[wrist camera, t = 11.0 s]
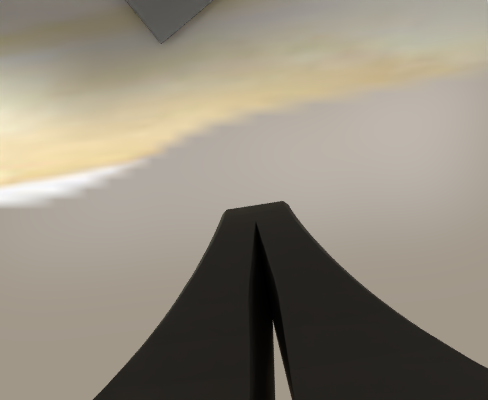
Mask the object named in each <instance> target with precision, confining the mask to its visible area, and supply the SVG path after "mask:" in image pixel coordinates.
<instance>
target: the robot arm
mask: <svg viewBox="0 0 488 400" xmlns="http://www.w3.org/2000/svg"><path fill="white" fill-rule="evenodd" d="M273 323H274V327H275V331H276V336H277V340H278V344H279V348H280V352H281V356H282V360H283V364H284V368H285V372H286V377H287V381H288V385H289V389H290V393H291V397H292V400H488V368H486V367H484V366H482V365H480V364H478V363H476V362H475V361H473V360H471V359H469V358H468V357H466V356H465V355H463V354H461V353H460V352H458V351H456V350H455V349H453V348H451V347H450V346H448V345H447V344H445V343H443V342H442V341H440V340H438V339H437V338H435V337H434V336H432V335H430V334H429V333H427V332H425V331H424V330H422V329H420V328H419V327H418V326H416V325H415V324H413V323H412V322H410V321H409V320H407V319H406V318H405V317H403V316H402V315H400V314H399V313H397V312H396V311H395V310H393V309H392V308H391V307H389V306H388V305H387V304H385V303H384V302H383V301H381V300H380V299H379V298H377V297H376V296H375V295H374V294H372V293H371V292H370V291H369V290H367V289H366V288H365V287H364V286H363V285H362V284H360V283H359V282H358V281H357V280H356V279H354V277H352V276H351V275H350V274H349V273H348V272H347V271H346V270H344V268H342V267H341V266H340V265H339V264H338V263H337V262H336V261H335V260H334V259H333V258H332V257H331V256H330V255H329V254H328V253H327V252H326V251H325V250H324V249H323V248H322V247H321V246H320V245H319V243H318V242H317V241H316V240H315V239H314V238H313V237H312V236H311V235H310V233H309V232H308V231H307V230H306V229H305V227H304V226H303V225H302V224H301V223H300V221H299V220H298V219H297V217H296V216H295V214H294V213H293V212H292V210H291V208H290V207H289V205H288V204H286V203H285V202H284V201H280V202H274V203H267V204H261V205H255V206H248V207H242V208H235V209H228V210H226V211H225V212H224V214H223V215H222V217H221V220H220V223H219V225H218V227H217V229H216V232H215V234H214V236H213V238H212V240H211V242H210V244H209V246H208V248H207V250H206V252H205V253H204V255H203V257H202V259H201V261H200V263H199V264H198V266H197V268H196V270H195V272H194V273H193V275H192V277H191V278H190V280H189V281H188V283H187V284H186V286H185V287H184V289H183V291H182V292H181V294H180V295H179V297H178V299H177V300H176V302H175V303H174V304H173V306H172V307H171V309H170V310H169V312H168V313H167V314H166V316H165V317H164V319H163V320H162V321H161V322H160V324H159V325H158V326H157V328H156V329H155V330H154V332H153V333H152V334H151V335H150V337H149V338H148V339H147V341H146V342H145V343H144V344H143V345H142V347H141V348H140V349H139V350H138V351H137V352H136V353H135V355H134V356H133V357H132V358H131V359H130V360H129V362H128V363H127V364H126V365H125V366H124V367H123V368H122V369H121V370H120V372H119V373H118V374H117V375H116V376H115V377H114V378H113V379H112V380H111V381H110V382H109V384H108V385H107V386H106V387H105V388H104V389H103V390H102V391H101V392H100V393H99V394H98V395H97V396H96V397H95V398H94V399H93V400H275V380H274V379H275V378H274V345H273Z"/></svg>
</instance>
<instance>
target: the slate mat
mask: <svg viewBox="0 0 488 400" xmlns="http://www.w3.org/2000/svg"><path fill="white" fill-rule="evenodd" d="M126 1H127V3H128V4H129V5H130V6H131V8H132V9H133V10H134V11H135V13H136V14H137V15H138V16H139V17H140V19H141V20H142V21H143V22H144V24H145V25H146V26H147V27H148V29H149V30H150V31H151V32H152V33H153V35H154V36H155V37H156V38H157V40H158V41H159V42H160V43H161V44H162V43H163V42H164V41H165V40H166V39H168V38H169V37H170V36H171V35H172V34H174V33H175V32H176V31H177V30H178V29H179V28H181V27H182V26H183V25H184V24H185V23H187V22H188V21H189V20H190V19H191V18H193V17H194V16H195V15H196V14H197V13H199V12H200V11H201V10H202V9H203V8H204V7H206V6H207V5H208V4H209V3H210V2H212V1H213V0H126Z"/></svg>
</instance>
